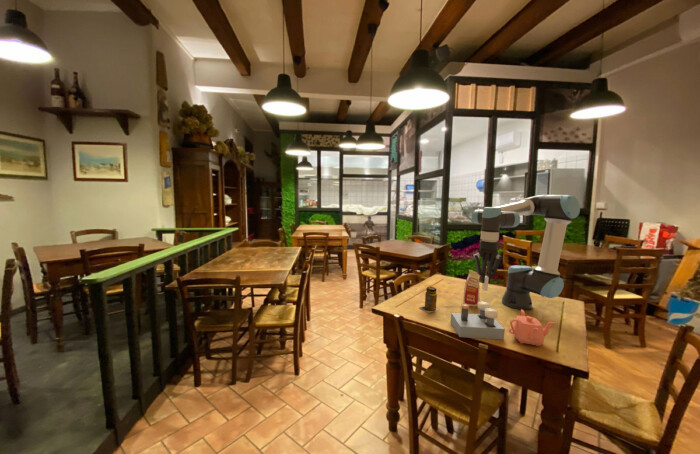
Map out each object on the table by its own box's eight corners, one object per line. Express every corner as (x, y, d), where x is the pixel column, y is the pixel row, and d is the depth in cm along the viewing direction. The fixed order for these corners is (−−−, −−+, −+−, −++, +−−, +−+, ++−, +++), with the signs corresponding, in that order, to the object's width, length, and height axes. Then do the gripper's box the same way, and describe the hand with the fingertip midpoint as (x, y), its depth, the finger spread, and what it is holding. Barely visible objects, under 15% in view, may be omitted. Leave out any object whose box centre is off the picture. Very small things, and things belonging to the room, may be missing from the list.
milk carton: (463, 304, 158) (465, 271, 155) (463, 299, 166) (465, 267, 164) (480, 307, 154) (483, 273, 152) (479, 301, 163) (482, 269, 160)
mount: (490, 324, 134) (490, 314, 133) (503, 339, 120) (504, 328, 119) (450, 322, 135) (451, 312, 134) (459, 337, 121) (460, 326, 121)
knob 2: (493, 324, 125) (494, 308, 124) (498, 329, 120) (499, 313, 119) (481, 323, 125) (483, 308, 124) (486, 328, 120) (487, 312, 119)
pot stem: (466, 318, 129) (467, 304, 128) (469, 321, 125) (470, 307, 124) (459, 317, 129) (460, 303, 128) (461, 321, 126) (462, 306, 125)
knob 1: (486, 316, 133) (487, 301, 132) (490, 321, 128) (491, 305, 127) (475, 315, 133) (476, 301, 132) (479, 320, 128) (480, 305, 127)
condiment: (439, 309, 150) (440, 288, 148) (429, 313, 145) (430, 291, 144) (428, 305, 156) (430, 285, 154) (418, 308, 151) (419, 287, 150)
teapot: (519, 329, 129) (521, 307, 128) (553, 344, 117) (556, 320, 115) (500, 336, 122) (503, 313, 121) (534, 353, 110) (537, 327, 108)
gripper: (499, 239, 129) (495, 287, 132) (471, 238, 130) (467, 286, 133) (507, 242, 122) (502, 293, 124) (477, 241, 123) (473, 291, 125)
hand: (484, 289), depth 129 cm, fingers closed
